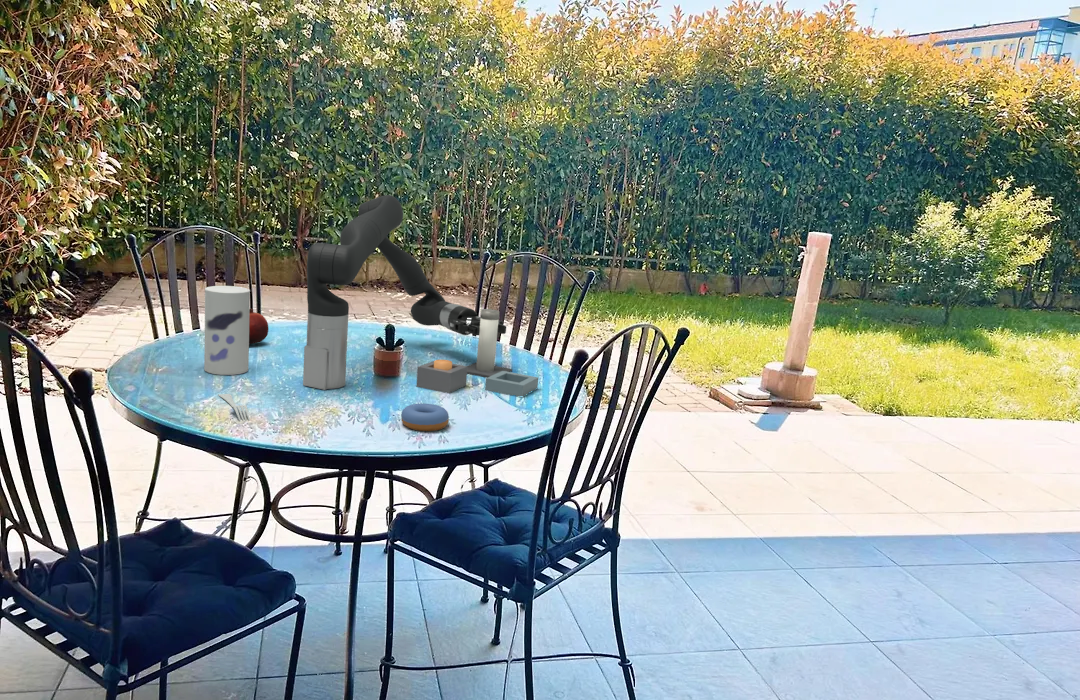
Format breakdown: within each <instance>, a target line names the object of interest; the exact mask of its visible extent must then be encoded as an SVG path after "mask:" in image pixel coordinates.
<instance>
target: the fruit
mask: <svg viewBox="0 0 1080 700" xmlns="http://www.w3.org/2000/svg"><path fill="white" fill-rule="evenodd" d="M268 334H269V323H268V320H267V319H266V317H264V315H262V314H261V313H260V312H259V313H258V312H254V309H253V308H250V314H249V345H250V344H251V345H252V344H259V343H261V342H263V341H264V340H265V339H266V338H267V336H268Z"/></svg>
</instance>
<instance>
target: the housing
mask: <svg viewBox="0 0 1080 700" xmlns="http://www.w3.org/2000/svg"><path fill="white" fill-rule="evenodd" d="M538 385H539V377H537V376H532V375H526V374H523V373H516V372H513V371H511V372H507V371H501V372H499V373H496V374H494V375H492V376H490V377H488V378H487V377H485V386H484V391H487V390H488V392H493V391H494V392H493V393H498V394H504V395H508V394H510V395H509V396H513V395H516V396H515V397H518V396H524V395H526V394H527V395H529V394H530V393H529V392H531V391H533V390H534V391H536V390H537V389H538ZM536 388H537V389H536ZM535 389H536V390H535ZM534 391H533V392H534ZM528 393H529V394H528ZM531 393H532V392H531ZM527 395H526V396H527ZM524 397H525V396H524Z"/></svg>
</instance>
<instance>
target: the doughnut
mask: <svg viewBox="0 0 1080 700" xmlns="http://www.w3.org/2000/svg"><path fill="white" fill-rule="evenodd" d="M400 418H401V422H402V424H403V425H404V426H405V428H407V429H411V430H415V431H420V432H435V431H440V430H442V429H444V428H446V427H447V425H448V424H449V421H450V417H449V412H448V411H447V409H445V408H444V407H443V406H440V405H437V404H433V403H426V402H425V403H413V404H409V405H407V406H405V407H404V408H403V409H402V410H401V416H400Z"/></svg>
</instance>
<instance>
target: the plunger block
mask: <svg viewBox="0 0 1080 700" xmlns="http://www.w3.org/2000/svg"><path fill="white" fill-rule="evenodd" d="M434 361H435V360H432V361H430V362H428V363H424V364H421V365H418V366H417V371H416V372H417V374H416V385H415V386H416V387H417V388H421V389H422V388H423V389H426V390H431V391H435V392H436V391H437V392H440V391H441V393H445V392H447V394H451V393H453V392H454V391H457V389H458V390H460V389H462V388H464V387H467V379H468V377H467V376H468V374H467V366H468V365H462V364H458V363H453V362H452V369H450V370H448V371H447V370H442V369H437V368H434ZM461 387H462V388H461ZM459 388H460V389H459ZM452 391H453V392H452ZM450 392H451V393H450Z"/></svg>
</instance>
